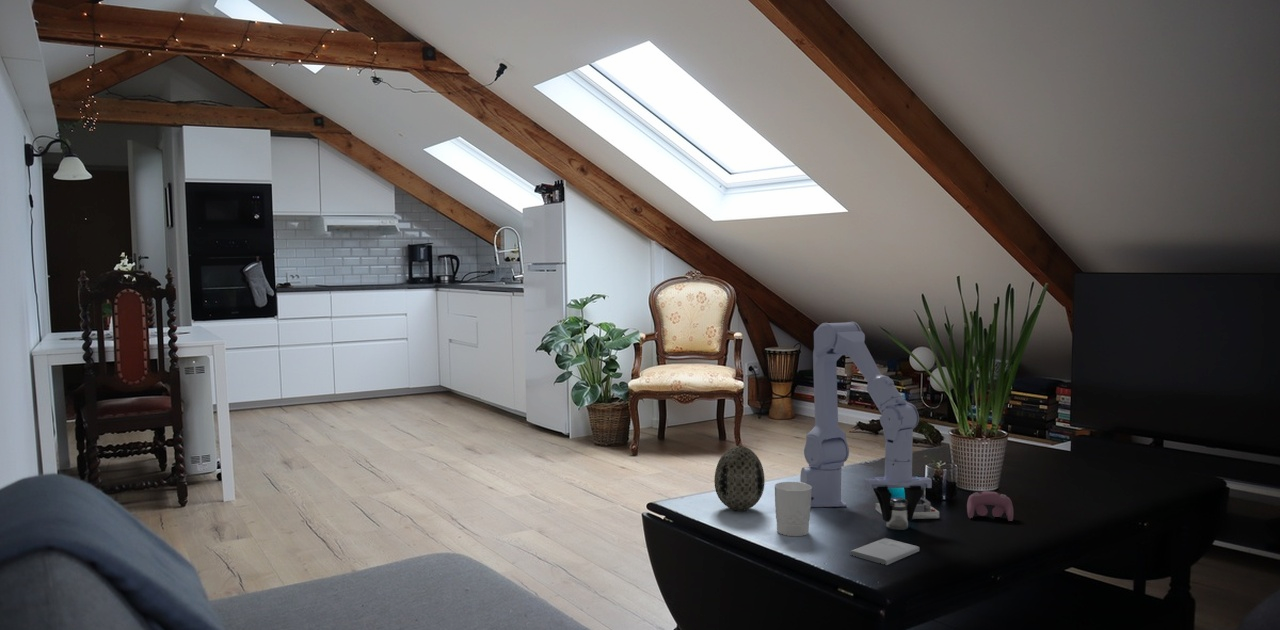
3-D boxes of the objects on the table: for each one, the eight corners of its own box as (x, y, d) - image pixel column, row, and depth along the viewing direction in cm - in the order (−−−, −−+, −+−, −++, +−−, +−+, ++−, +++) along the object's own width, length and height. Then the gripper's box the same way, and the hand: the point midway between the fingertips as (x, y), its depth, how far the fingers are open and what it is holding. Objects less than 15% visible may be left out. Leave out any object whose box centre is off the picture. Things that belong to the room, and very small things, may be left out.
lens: (890, 530, 194) (891, 502, 193) (883, 523, 198) (883, 497, 198) (911, 529, 194) (911, 502, 194) (903, 523, 199) (903, 496, 198)
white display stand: (887, 519, 202) (888, 506, 201) (875, 509, 209) (875, 497, 209) (939, 518, 203) (939, 505, 202) (924, 508, 211) (925, 496, 210)
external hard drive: (849, 558, 177) (883, 544, 186) (886, 568, 171) (919, 553, 180) (849, 550, 177) (883, 536, 185) (886, 559, 171) (919, 545, 180)
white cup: (802, 539, 186) (803, 492, 186) (768, 533, 191) (768, 487, 190) (816, 530, 193) (817, 484, 193) (782, 524, 197) (783, 480, 197)
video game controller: (1012, 525, 203) (1012, 495, 205) (1014, 521, 199) (1013, 490, 201) (966, 521, 206) (966, 491, 208) (967, 517, 202) (967, 487, 204)
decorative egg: (703, 509, 209) (704, 446, 208) (734, 500, 217) (734, 439, 216) (744, 519, 201) (745, 454, 200) (774, 509, 209) (775, 446, 208)
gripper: (872, 463, 191) (871, 526, 191) (938, 462, 192) (936, 524, 193) (861, 456, 198) (860, 516, 198) (924, 455, 199) (923, 515, 200)
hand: (897, 520), depth 196 cm, fingers closed on lens, 4 cm apart
